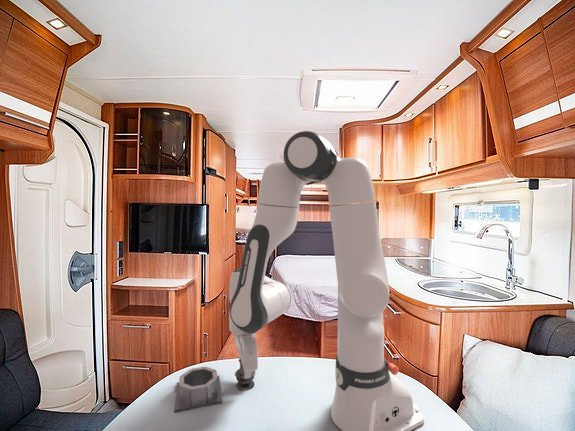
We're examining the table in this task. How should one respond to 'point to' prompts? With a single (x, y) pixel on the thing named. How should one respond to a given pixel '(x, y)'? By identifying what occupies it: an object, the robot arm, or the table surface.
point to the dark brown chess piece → (242, 382)
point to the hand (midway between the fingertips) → (245, 369)
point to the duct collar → (197, 389)
